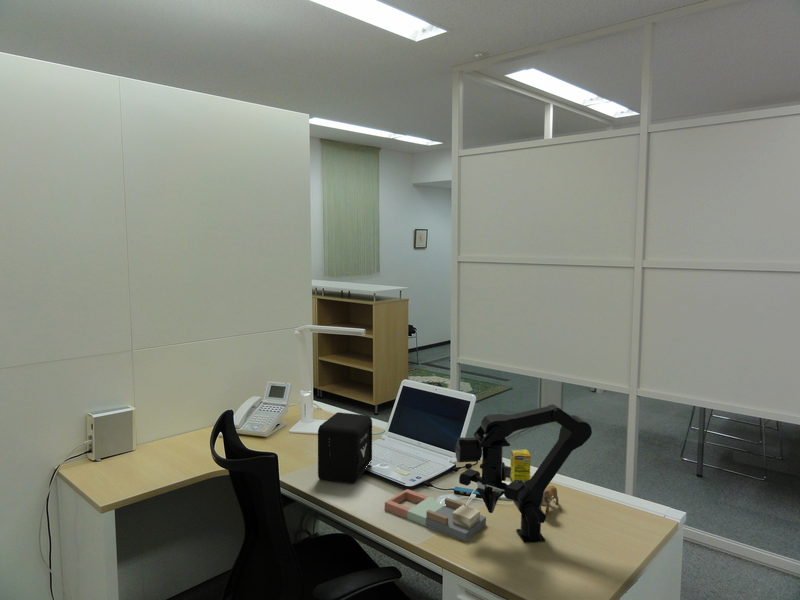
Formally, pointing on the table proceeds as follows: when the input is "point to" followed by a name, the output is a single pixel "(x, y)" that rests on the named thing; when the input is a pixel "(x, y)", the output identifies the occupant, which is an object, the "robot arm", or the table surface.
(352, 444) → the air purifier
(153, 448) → the table surface
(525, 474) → the supplement box
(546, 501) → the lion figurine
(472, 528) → the board
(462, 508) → the block
